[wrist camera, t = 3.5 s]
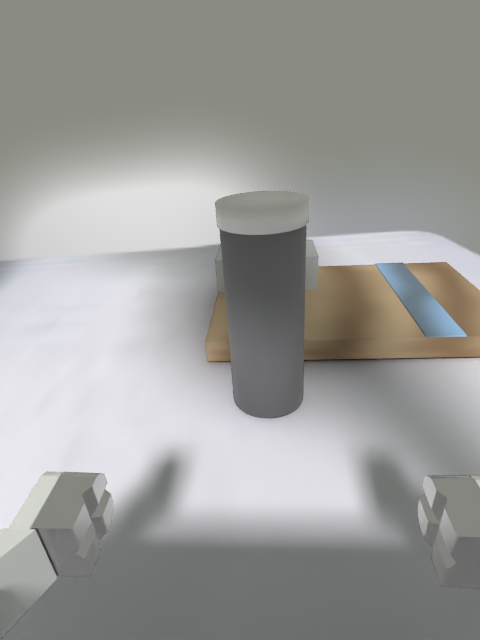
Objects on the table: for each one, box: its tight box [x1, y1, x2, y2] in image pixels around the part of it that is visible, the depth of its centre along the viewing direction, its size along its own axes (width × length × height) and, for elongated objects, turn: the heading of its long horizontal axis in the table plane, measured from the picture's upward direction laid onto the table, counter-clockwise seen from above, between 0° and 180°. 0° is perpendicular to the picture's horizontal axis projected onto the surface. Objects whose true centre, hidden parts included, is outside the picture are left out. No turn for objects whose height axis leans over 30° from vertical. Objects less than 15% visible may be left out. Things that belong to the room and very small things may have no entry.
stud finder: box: [215, 240, 318, 293], centre depth 34 cm, size 8×4×3 cm, turn 87°
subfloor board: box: [205, 262, 480, 361], centre depth 31 cm, size 20×13×2 cm, turn 87°
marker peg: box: [215, 191, 309, 418], centre depth 21 cm, size 4×4×11 cm
